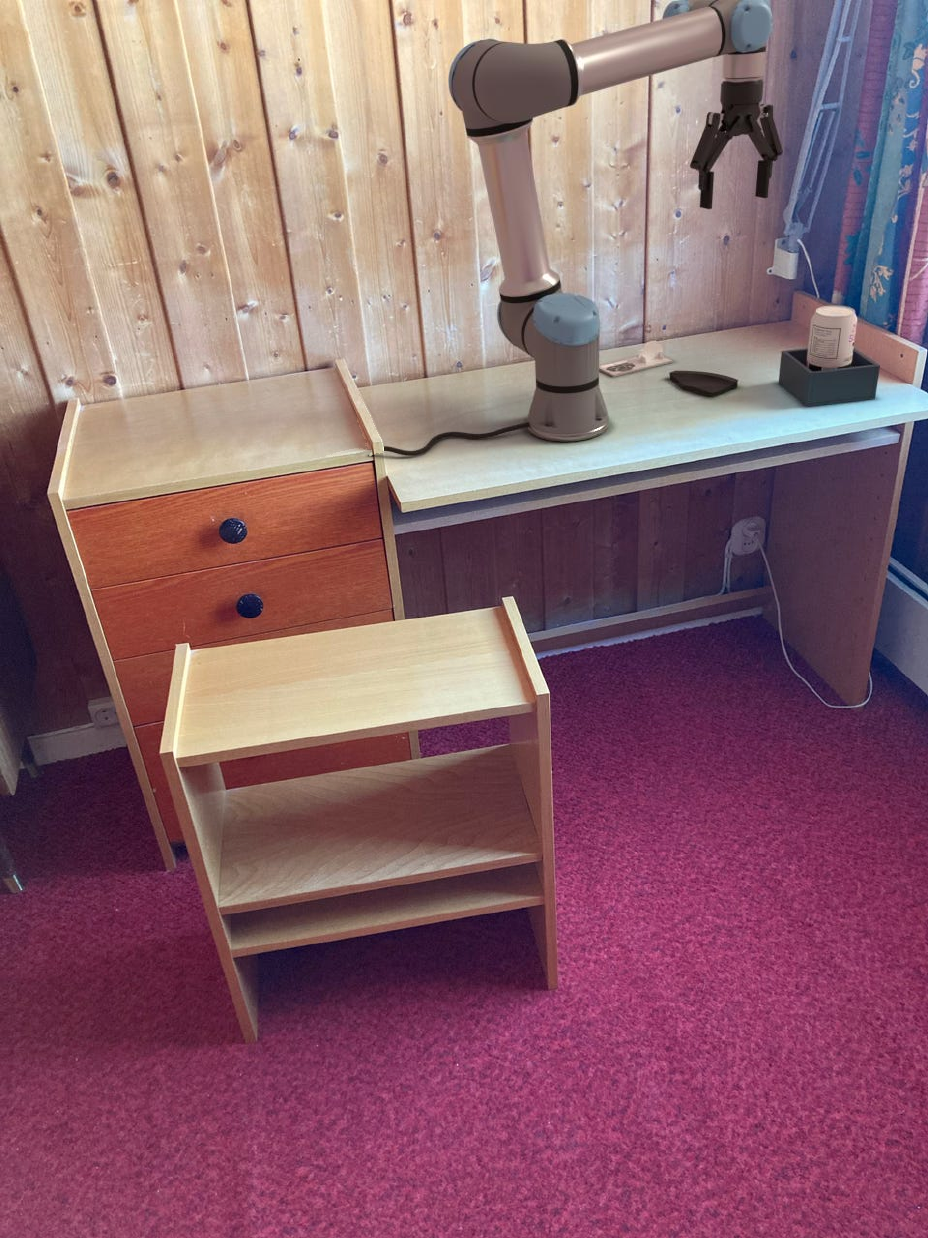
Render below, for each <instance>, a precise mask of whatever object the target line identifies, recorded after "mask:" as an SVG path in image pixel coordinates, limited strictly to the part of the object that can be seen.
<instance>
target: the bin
mask: <svg viewBox="0 0 928 1238" xmlns="http://www.w3.org/2000/svg"><path fill="white" fill-rule="evenodd" d="M807 353H808V347H805V348H796V349H795V348H794V349H787V350H781V353H780V354H781V355H780V364H779V365H780V366H779V373H778V384H779V385H780V386H782V388H783V389H785V390H786V391H787V392H788V393H789V394H790V395H792V396H793V398H795V399H796V400H797V401H799V402H800V403H801V404H802V405H803V406H805V407H806V408H810V407H818V406H826V405H836V404H844V403H845V404H846V403H853V402H861V401H870V400H871V401H872V400H875V399H876V395H877V388H878V381H879V375H880V374H879V373H880V368H881V365H880V364H879V363H877V362H876V361H874V360H873V359H872V358H870V357H868V356H866V354H864V353H862V352H861V351H859V350H858V349H857V348H855V347H854V349H853V356H852V363H851V367H849V368H841V369H832V370H823V371H814V372H812V371H811V370H810V369H808V368H807V367H806V362H807Z"/></svg>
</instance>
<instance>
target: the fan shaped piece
mask: <svg viewBox="0 0 928 1238" xmlns="http://www.w3.org/2000/svg"><path fill="white" fill-rule="evenodd" d="M668 374H669V380H671V381H672V382H674V383H676V384H677V385H678V386H679V387H680V388H681V389H683V390H686V391H690V392H694V393H696V394H697V393H698V394H701V395H705V396H707V397H711V398H712V397H715V396H718V395H720V394H723V393H725V392H727V391H730V390H733V389H736V388H738V383H739V379H736V378H734V377H731V376H728V375H724V374H720V373H715V372H708V371H699V370H673V371H669V372H668Z"/></svg>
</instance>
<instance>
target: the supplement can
mask: <svg viewBox="0 0 928 1238" xmlns="http://www.w3.org/2000/svg"><path fill="white" fill-rule="evenodd" d="M857 326H858V317H857V315H856V310H855V309H854V308H852V307H850V306H845V305H824V306H820V307H817V308H816V310H815V312H814V313H813V315H812V317H811V319H810V326H809V337H808V344H807V348H808V353H807V362H806V367H807V368H808V369H810V370H811V371H812V372H814V371H823V370H832V369H841V368H849V367H851V363H852V356H853V349H854V348H855V342H856V333H857Z"/></svg>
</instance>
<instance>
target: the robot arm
mask: <svg viewBox="0 0 928 1238" xmlns="http://www.w3.org/2000/svg"><path fill="white" fill-rule="evenodd" d="M773 18H774V17H773V12H772V9H771V0H672V1H671V2H670V3H668V4H667V5H666V7H665V9H664V11H663V14H662V18H661V19H658V20H654V21H651V22H647V23H643V24H639V25H636V26H631V27H628V28H624V29H621V30H618V31H614V32H610V33H606V34H603V35H599V36H596V37H591V38H588V39H584V40H580V41H577V42H573V43H570V42H568V40H566V39H563V38H560V39H557V40H554V41H549V42H541V43H525V42H524V43H523V42H514V41H503V40H498V39H494V38H487V39H480V40H476V41H473V42H471V43H469V44H466V45H465V46H464V47H463V48H462V49H460V51H458V53H457V54H456V56H455V57H454V59H453V61H452V63H451V65H450V67H449V72H448V80H447V83H448V90H449V94H450V97H451V99H452V101H453V102H454V105H455V106H456V108H458V109H459V111H461V113H462V117H463V119H462V120H463V124H464V128H465V133H466V137H467V138H468V139H469V140H471V141H472V142H473V143H475V144H476V145H477V147H478V148H477V149H478V152H479V153H478V154H479V158H480V162H481V168H482V172H483V173H482V174H483V178H484V183H485V186H486V188H485V189H486V193H487V198H488V202H489V203H488V204H489V207H490V212H491V217H492V218H491V219H492V223H493V227H494V228H493V229H494V232H495V233H494V234H495V238H496V243H497V248H498V252H499V253H498V254H499V257H500V262H501V268H502V272H503V280H502V282H501V283H500V285H499V286H498V293H499V298H500V299H499V300H500V301H499V302H498V304H497V309H496V318H497V325H498V326H499V330H500V331H501V334H502V335H503V336H504V337H505V338H506V339H507V341H508V342H509V344H511V345H513V347H515V348H518V349H519V350H521V352H524V353H525V354H527V355H528V356H529V357H531V358H533V359H534V365H535V366H534V367H535V368H534V369H535V389H534V390H535V391H534V394H533V396H532V399H531V403H530V407H529V410H528V414H527V421H526V422H522V423H518V424H515V425H510V426H505V427H502V428H499V429H496V430H492V431H488V432H482V433H470V432H462V431H446V432H442V433H439V434H436V435H435V436H434V437H432V438H431V439H430V441H429V442H428V443H427V444H426V445H425V446H423V447H422V448H419V449H415V450H407V449H401V448H397V447H394V446H387V445H383V446H384V451H383V452H388V453H393V454H397V455H401V456H405V457H414V456H418V455H423V454H424V453H426V452H428V451H429V450H430V449H431V448H432V447H433V446H434V445H435V443H436V442H438V441H439V440H443V439H445V438H453V437H454V438H457V437H458V438H464V439H472V440H473V439H474V440H477V439H478V440H479V439H481V440H482V439H488V438H492V437H496V436H499V435H502V434H506V433H509V432H513V431H517V430H522V429H525V428H527V430H528V433H530V434H532V435H533V436H534V437H537V438H539V439H542V440H546V441H550V442H551V441H552V442H560V443H561V442H563V443H564V442H565V443H567V442H579V441H585V440H589V439H593V438H595V437H598V436H600V435H602V434H604V433H605V432H606V431H607V430H608V429H609V424H610V418H609V412H608V409H607V406H606V403H605V400H604V396H603V394H602V391H601V388H600V370H599V366H600V335H601V334H600V332H601V320H600V311H599V308H598V305H597V304H596V303H595V302H594V301H593V300H591V299H590V298H588V297H587V296H584V295H581V294H578V295H575V293H567V292H563V288H562V282H561V277H560V273H558V272H557V271H555V270H553V269H552V268H551V267H550V261H549V255H548V251H547V244H546V239H545V232H544V227H543V222H542V216H541V210H540V204H539V198H538V192H537V187H536V181H535V176H534V170H533V164H532V159H531V152H530V148H529V147H530V146H529V140H528V135H527V133H528V131H529V129H530V128H531V126H532V124H533V122H534V119H535V118H537V117H540V116H544V115H546V114H550V113H552V112H556V111H558V110H561V109H564V108H568V107H571V106H574V105H575V104H577V102H578V101H579V99H580V97H581V96H584V95H589V94H591V93H595V92H599V91H602V90H605V89H608V88H613V87H615V86H619V85H623V84H626V83H630V82H632V81H636V80H640V79H643V78H647V77H650V76H653V75H658V74H661V73H664V72H667V71H670V70H674V69H679V68H681V67H684V66H689V65H692V64H695V63H699V62H702V61H705V60H709V59H712V58H716V57H717V58H718V57H722V64H721V65H722V67H721V78H723V79H724V80H723V81H722V82H721V83H720V96H719V98H720V99H719V100H720V101H719V102H720V105H721V111H720V112H713V111H708V112H707V114H706V117H705V118H706V119H705V125H704V128H703V131H702V133H701V136H700V138H699V140H698V144H697V145H696V148H695V151H694V153H693V155H692V158H691V160H690V164H689V168H690V169H691V170H692V169H693V170H695V171H697V172H698V185H697V188H698V190H699V191H700V194H699V208H701V209H705V210H713V199H714V182H715V171H712V168H714V166H715V164H716V162H717V161H718V159H719V158H720V156H721V154H722V152H723V151H724V149H725V147H726V146H727V145H728V143H729V142H730V141H731V140H733V138H734V137H739V136H742V135H744V136H745V135H747V136H748V137H749V139H750V141H751V142H752V144H753V145H754V148H755V150H756V151H757V152H758V154H759V156H760V157H761V159H759V160H757V170H756V182H755V193H754V197H756V198H761V199H769V198H768V197H769V189H770V179H771V178H772V175H773V166H774V165H773V164H774V162H777V161H778V159H779V157H780V156H782V155H783V151H784V149H783V148H782V147H783V146H782V143H781V140H780V137H779V133H778V130H777V129H778V128H777V126H776V123H775V119H774V105H773V104H769V103H761V102H762V100H763V95H764V81H763V79H762V77H764V76H765V73H766V72H765V69H766V58H767V57H766V56H767V44H768V40H769V39H770V37H771V34H772V32H773V26H774V19H773ZM760 103H761V104H760ZM758 119H759V122H760V124H759V122H758Z"/></svg>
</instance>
